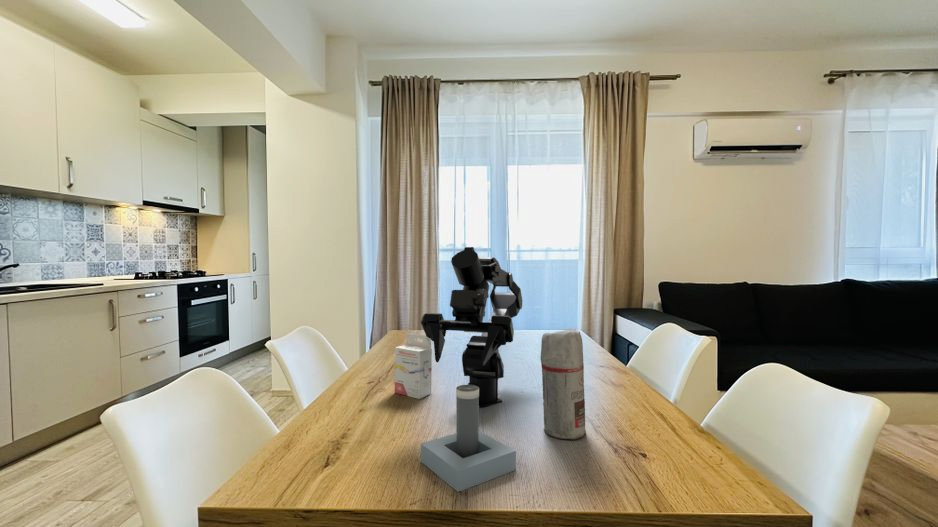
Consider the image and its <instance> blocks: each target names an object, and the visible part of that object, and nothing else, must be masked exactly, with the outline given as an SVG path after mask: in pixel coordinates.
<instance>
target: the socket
mask: <svg viewBox="0 0 938 527" xmlns="http://www.w3.org/2000/svg"><path fill="white" fill-rule="evenodd" d="M420 463H422V464H423V465H424V466H426V467H427V468H428V469H429V470H431V471H432V472H433V473H434V474H435V475H437V476H438V477H439V478H440V479H441V480H443V481H444V482H445V483H446V484H448V486H450V487H451V488H453V489H454V490H455V492H457V493H460V492H463V491H465V490H467V489H471V488H472V487H474V486H477V485H480V484H483V483H486V482H488V481H491V480H492V479H493V480H494V479H495V478H499V477H500V476H503V475H506V474H508V473H512V472H513V471H516V469H517V467H516V466H517V451H516V449H514V448H512V447H510V446H508V445H506V444H505V443H503V442H501V441H499V440H497V439H496V438H494V437H492V436H489V435H488V434H486V433H484V431H483V432H482V431H480V430H479V453H478V454H475V455H472V456H469V457H466V458H462V457H460V456H459V455H457V454H456V432H455V433H453V434H448V435H446V436H442V437H439V438H434V439H431V440H426V441H424V442H421V443H420ZM459 491H460V492H459Z"/></svg>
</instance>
